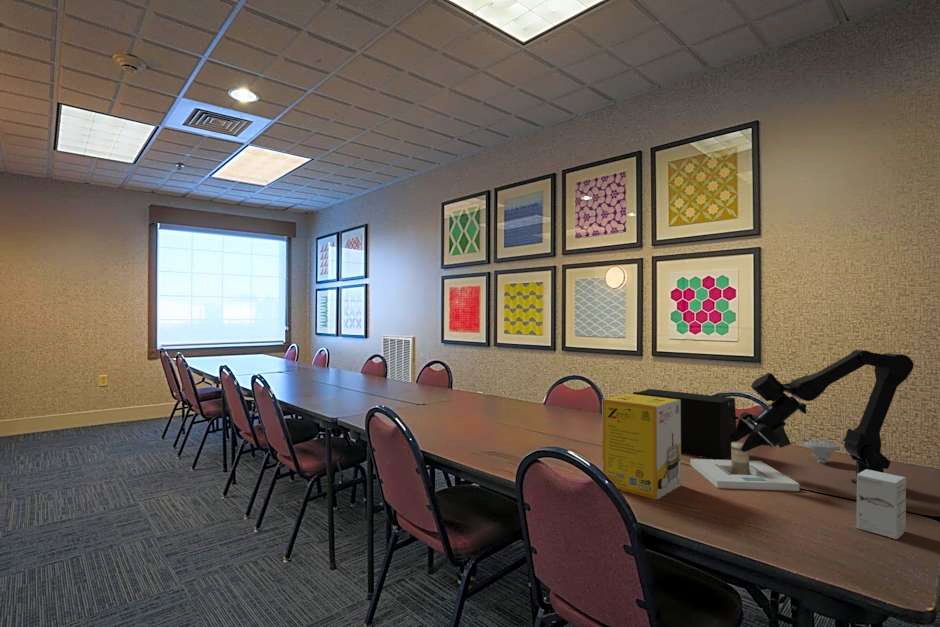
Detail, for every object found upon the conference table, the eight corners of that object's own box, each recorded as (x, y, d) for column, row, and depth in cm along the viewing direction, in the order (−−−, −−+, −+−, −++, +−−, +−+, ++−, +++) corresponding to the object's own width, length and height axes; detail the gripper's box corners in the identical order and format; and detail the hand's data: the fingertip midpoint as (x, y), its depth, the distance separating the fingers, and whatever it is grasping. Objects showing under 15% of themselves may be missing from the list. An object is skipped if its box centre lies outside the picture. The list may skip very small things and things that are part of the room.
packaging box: (628, 472, 151) (628, 393, 151) (681, 485, 139) (680, 399, 139) (602, 485, 139) (601, 399, 140) (656, 500, 128) (656, 406, 128)
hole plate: (799, 490, 135) (799, 483, 135) (717, 487, 137) (717, 480, 137) (760, 467, 156) (760, 460, 157) (690, 464, 159) (690, 458, 159)
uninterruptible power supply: (651, 437, 197) (650, 388, 197) (741, 453, 173) (740, 398, 173) (631, 444, 186) (631, 392, 186) (725, 462, 161) (724, 403, 162)
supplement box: (855, 528, 110) (854, 473, 110) (866, 521, 114) (865, 468, 115) (897, 541, 104) (896, 482, 104) (907, 532, 108) (906, 476, 109)
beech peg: (752, 479, 145) (752, 446, 145) (736, 478, 145) (735, 445, 145) (744, 474, 149) (744, 441, 150) (728, 473, 150) (728, 441, 150)
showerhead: (803, 435, 169) (838, 440, 163) (803, 456, 169) (839, 461, 163) (801, 441, 161) (839, 445, 155) (802, 462, 161) (839, 468, 155)
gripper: (813, 441, 134) (769, 477, 137) (786, 423, 152) (747, 455, 155) (782, 412, 135) (738, 448, 139) (759, 397, 154) (721, 430, 157)
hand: (737, 446), depth 147 cm, fingers open, 9 cm apart
